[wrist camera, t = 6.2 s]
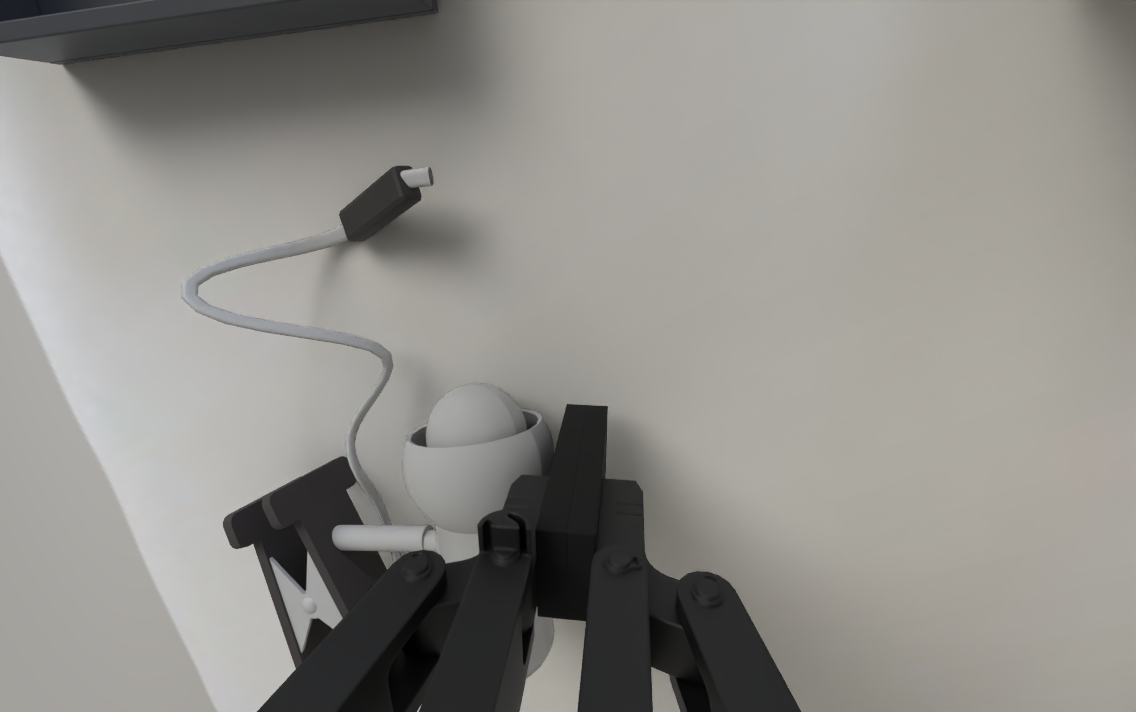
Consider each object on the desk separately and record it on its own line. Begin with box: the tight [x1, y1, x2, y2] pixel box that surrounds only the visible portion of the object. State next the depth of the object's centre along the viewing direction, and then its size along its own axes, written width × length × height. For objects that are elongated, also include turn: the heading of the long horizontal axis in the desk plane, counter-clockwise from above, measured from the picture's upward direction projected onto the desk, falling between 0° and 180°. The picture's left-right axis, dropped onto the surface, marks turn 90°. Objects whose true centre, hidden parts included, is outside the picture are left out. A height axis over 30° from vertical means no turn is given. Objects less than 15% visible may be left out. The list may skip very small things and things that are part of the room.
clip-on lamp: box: [181, 166, 555, 678], centre depth 18 cm, size 12×6×18 cm
